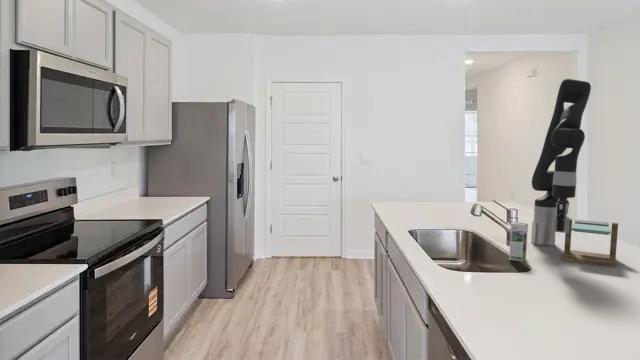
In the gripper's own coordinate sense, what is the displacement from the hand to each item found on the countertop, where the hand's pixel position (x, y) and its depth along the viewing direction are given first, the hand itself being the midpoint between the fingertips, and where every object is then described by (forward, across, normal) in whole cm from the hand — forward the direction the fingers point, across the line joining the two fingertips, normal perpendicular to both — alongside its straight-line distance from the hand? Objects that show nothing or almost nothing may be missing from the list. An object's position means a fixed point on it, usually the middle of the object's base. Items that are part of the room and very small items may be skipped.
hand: (560, 229), depth 174 cm
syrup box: (+14, +2, +14) cm, 21 cm away
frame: (+14, +21, -9) cm, 27 cm away
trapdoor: (+5, +23, -9) cm, 25 cm away
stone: (+1, 0, 0) cm, 1 cm away
